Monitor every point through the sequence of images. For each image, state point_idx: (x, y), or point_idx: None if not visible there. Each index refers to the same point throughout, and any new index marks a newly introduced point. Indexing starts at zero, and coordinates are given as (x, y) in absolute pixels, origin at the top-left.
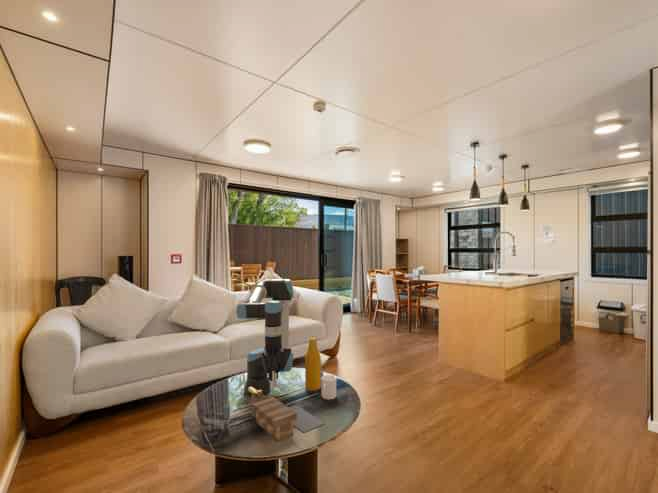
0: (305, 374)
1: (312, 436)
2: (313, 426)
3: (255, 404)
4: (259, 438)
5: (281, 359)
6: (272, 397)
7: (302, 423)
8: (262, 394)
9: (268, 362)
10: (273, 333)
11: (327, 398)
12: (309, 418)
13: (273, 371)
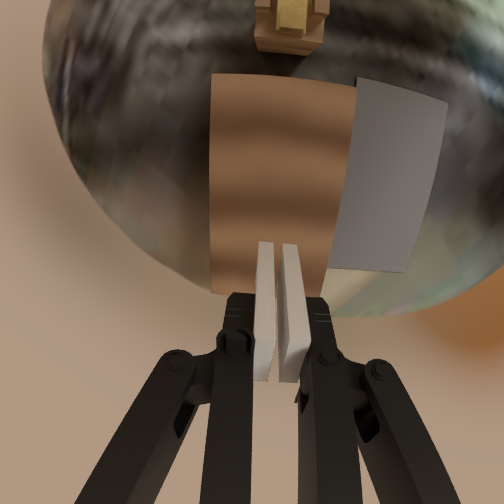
0: None
1: (329, 293)
2: (371, 263)
3: (219, 92)
4: (195, 192)
5: (379, 498)
6: (349, 89)
7: (365, 226)
8: (322, 18)
9: (203, 475)
10: None
11: None
12: (403, 219)
13: (303, 344)
